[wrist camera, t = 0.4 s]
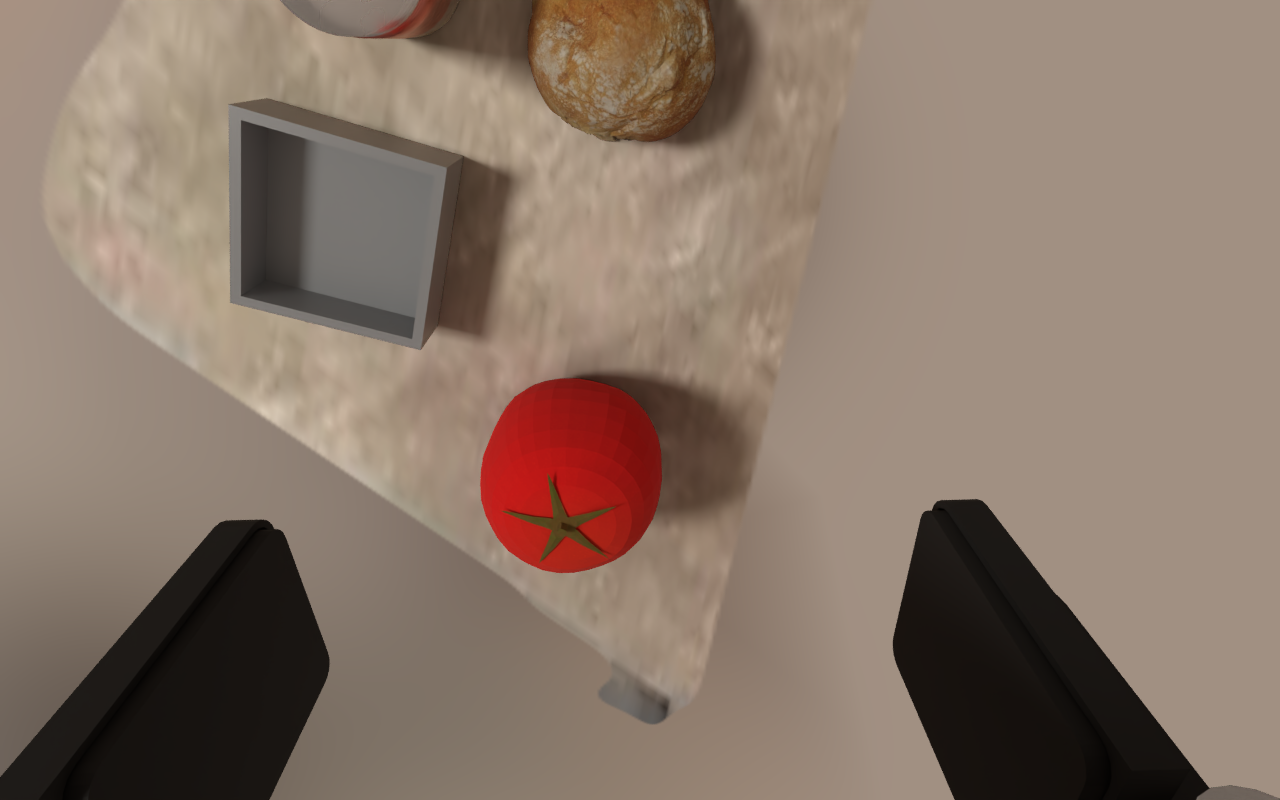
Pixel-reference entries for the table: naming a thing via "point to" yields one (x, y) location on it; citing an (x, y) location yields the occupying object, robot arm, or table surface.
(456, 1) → the red drink can
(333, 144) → the crate
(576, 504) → the tomato
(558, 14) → the bread roll
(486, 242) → the table surface
